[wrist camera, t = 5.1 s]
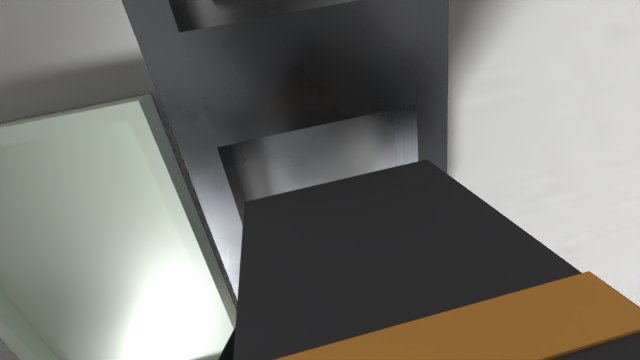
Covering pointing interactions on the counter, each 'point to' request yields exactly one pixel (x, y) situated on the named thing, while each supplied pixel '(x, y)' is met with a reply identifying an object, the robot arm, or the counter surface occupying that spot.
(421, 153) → the strip
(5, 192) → the tray
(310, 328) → the dark grey striped block
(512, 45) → the counter surface
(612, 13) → the counter surface
